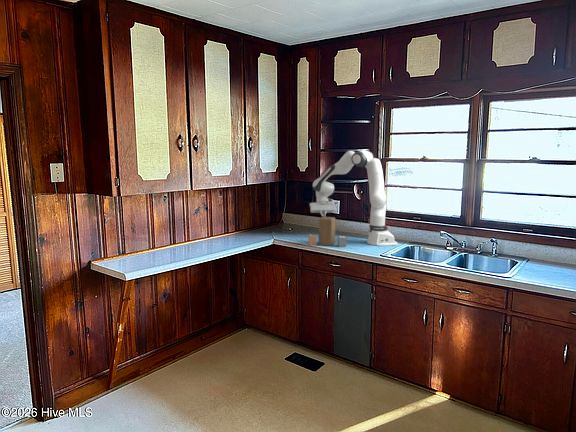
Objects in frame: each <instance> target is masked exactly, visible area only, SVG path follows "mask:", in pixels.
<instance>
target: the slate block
mask: <svg viewBox="0 0 576 432" xmlns="http://www.w3.org/2000/svg"><path fill="white" fill-rule="evenodd" d="M337 237H338V238H337V246H338V247H339V248H346V247H347V237H346V236H344V235H339V236H337Z"/></svg>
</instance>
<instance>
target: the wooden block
mask: <svg viewBox="0 0 576 432" xmlns="http://www.w3.org/2000/svg"><path fill="white" fill-rule="evenodd" d="M336 219H337V218H336V217H334V216H333V217H332V216H326V217H322V216H321V217H319V219H318V221H319V222H318V244H319V245H320V246H329V247H332V246H333V245H335V243H336V221H337V220H336Z"/></svg>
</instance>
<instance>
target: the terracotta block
mask: <svg viewBox="0 0 576 432" xmlns="http://www.w3.org/2000/svg"><path fill="white" fill-rule="evenodd" d="M308 245H309V246H317V235H316V234H315V233H314V234H311V233H310V234H308Z"/></svg>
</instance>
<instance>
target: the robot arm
mask: <svg viewBox="0 0 576 432" xmlns="http://www.w3.org/2000/svg"><path fill="white" fill-rule="evenodd" d="M354 166H356V167H360V168H366V170H367V171H366V173H367V179H368V187H369V188H368V189H369V191H368V193H369V203H370V205H371V207H370V215H369V225H368V238H367V241H366V244H368V245H373V246H377V247H386V246H387V247H388V246H398V242H397V241H396V240H395V236H394V235H393V233H391V232H390V231H389V230H390V226H389V225H386V211H387V202H388V201H387V198H388V197H387V194H386V193H385V180H384V172H383V168H382V163H381V160H380V159H379V158H376V157H375V155H374V154H373V152H371V151H370V150H359V151H354V150H348V151H346V152H345V153H344V154H343V156H341V158H340V159H339V160H338V161H337V162H335V163H334V164H331V165H330V166H328V167H327V169H326V170H324V171H323V172H322V173H321V175H319V176H318V177H317V178H316V179H314V181H313V182H312V189H313V190H314V191H315V197H316V199H315V200H316V201H314V202H313V201H312V202H309V208H310V209H309V210H310V213H313V214H314V213H316V214H320V215H321V218H322V217H327V215H326V214H327V213H329V214H330V213H336V211H337V208H336V204H335V202H334V199H332V198H329V197H330V196H332V195H333V194H334V193H335V190H336V188H335V184H334V183H331V182H329V181H327V180H328V178H330V177H331V176H333V175H346V174H348V173H349V172H350V171H351V170H352V169H353V167H354Z"/></svg>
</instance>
